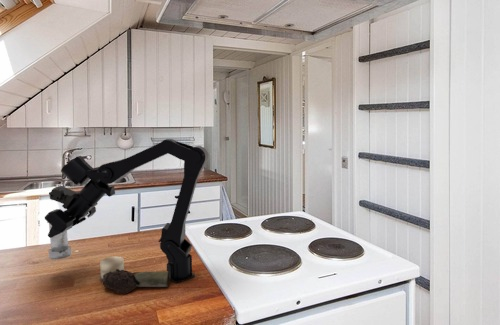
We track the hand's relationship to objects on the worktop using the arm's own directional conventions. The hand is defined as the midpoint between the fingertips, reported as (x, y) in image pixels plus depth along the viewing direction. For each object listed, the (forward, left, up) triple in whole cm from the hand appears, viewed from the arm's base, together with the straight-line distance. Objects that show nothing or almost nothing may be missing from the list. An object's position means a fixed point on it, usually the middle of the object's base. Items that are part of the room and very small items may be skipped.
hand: (54, 233), depth 100 cm
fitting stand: (-12, +11, -13) cm, 21 cm away
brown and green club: (-15, +23, -14) cm, 30 cm away
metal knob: (-1, +1, -7) cm, 7 cm away
